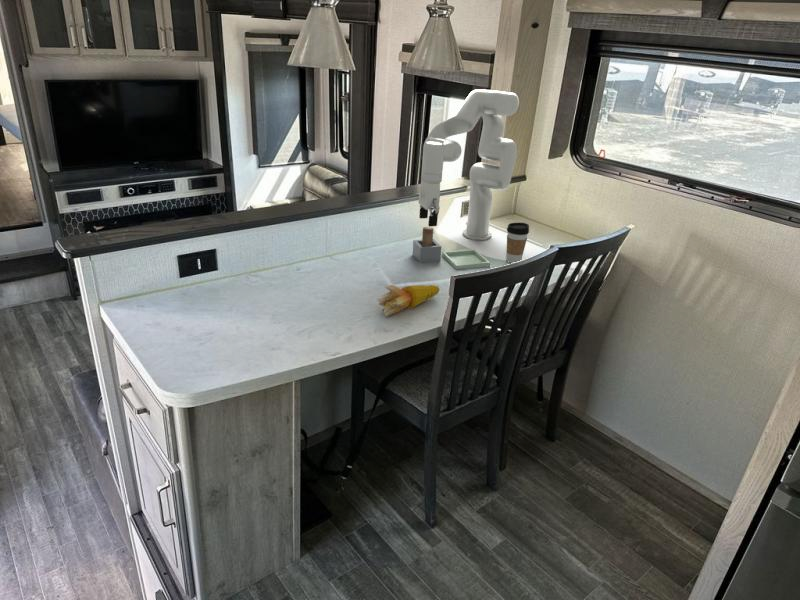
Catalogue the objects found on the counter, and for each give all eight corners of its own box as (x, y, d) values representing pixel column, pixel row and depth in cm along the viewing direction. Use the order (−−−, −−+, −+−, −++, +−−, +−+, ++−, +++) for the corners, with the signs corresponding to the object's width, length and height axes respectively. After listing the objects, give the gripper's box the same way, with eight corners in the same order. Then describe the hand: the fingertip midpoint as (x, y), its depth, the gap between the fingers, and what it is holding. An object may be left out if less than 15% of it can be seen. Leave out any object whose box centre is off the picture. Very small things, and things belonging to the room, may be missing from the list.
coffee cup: (526, 265, 224) (531, 228, 217) (504, 264, 224) (509, 227, 217) (522, 257, 232) (527, 221, 225) (501, 256, 232) (506, 220, 225)
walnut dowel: (419, 256, 225) (421, 227, 220) (429, 255, 226) (431, 226, 221) (423, 260, 222) (425, 230, 216) (432, 259, 223) (435, 229, 218)
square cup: (412, 257, 227) (413, 240, 224) (432, 255, 229) (433, 238, 226) (419, 265, 220) (420, 248, 217) (440, 263, 222) (441, 246, 219)
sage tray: (441, 257, 227) (442, 251, 226) (474, 255, 232) (474, 249, 230) (455, 271, 216) (456, 265, 214) (489, 268, 220) (490, 262, 219)
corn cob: (436, 308, 196) (380, 321, 180) (424, 291, 199) (368, 302, 183) (448, 292, 191) (392, 304, 174) (435, 275, 194) (378, 284, 178)
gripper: (413, 171, 216) (410, 215, 223) (430, 183, 201) (426, 229, 209) (432, 171, 218) (429, 214, 226) (450, 182, 204) (445, 228, 211)
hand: (427, 222), depth 217 cm, fingers open, 9 cm apart
